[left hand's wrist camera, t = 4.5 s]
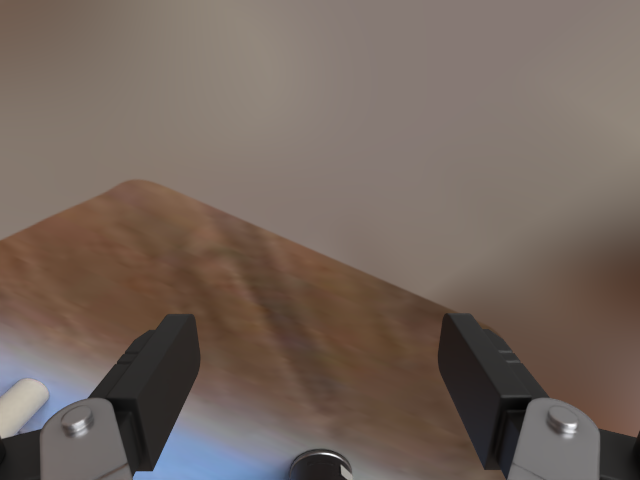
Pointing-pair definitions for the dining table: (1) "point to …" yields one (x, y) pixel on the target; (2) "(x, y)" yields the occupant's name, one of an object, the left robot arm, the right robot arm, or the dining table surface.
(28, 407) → the jar
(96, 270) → the dining table surface
